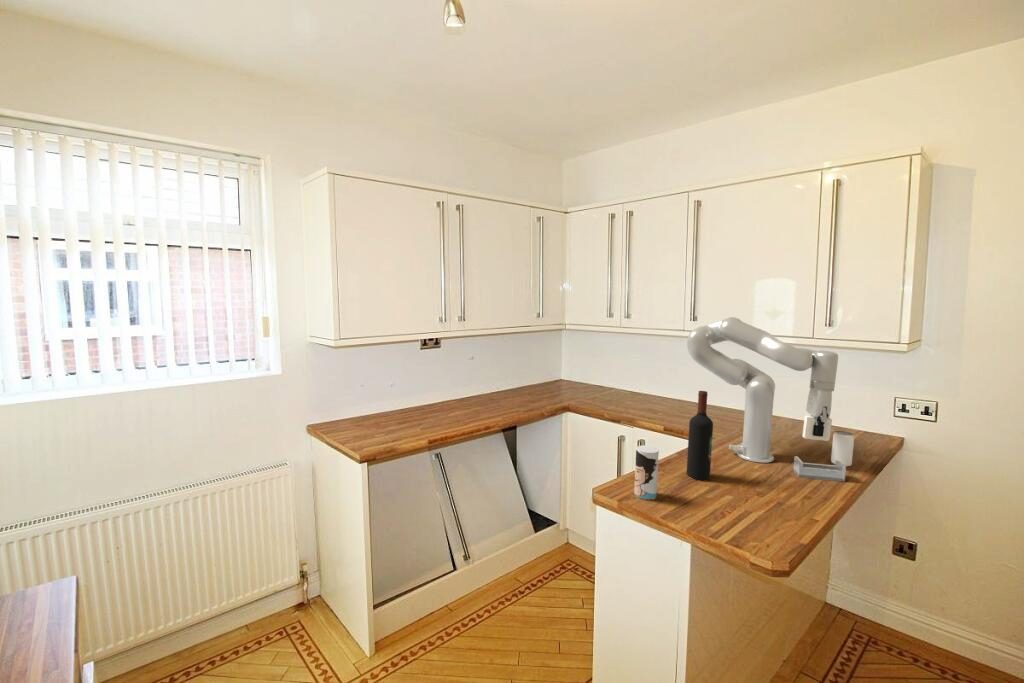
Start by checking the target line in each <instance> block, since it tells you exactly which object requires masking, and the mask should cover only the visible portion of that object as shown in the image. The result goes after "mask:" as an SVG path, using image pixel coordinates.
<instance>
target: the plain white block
mask: <svg viewBox="0 0 1024 683" xmlns="http://www.w3.org/2000/svg"><path fill="white" fill-rule="evenodd" d="M803 419H804V420H803V428H802V438H804V440H805V439H807V440H817V441H827V442H830V438H831V430H832V423H833V419H832V418H830V417H829V418H827V422H825V426H824V432H823V436H822V437H821V436H813V427H814V425H815V419H816V417H813V416H811V415H804V418H803ZM818 420H819V419H818Z"/></svg>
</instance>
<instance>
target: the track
mask: <svg viewBox="0 0 1024 683" xmlns="http://www.w3.org/2000/svg"><path fill="white" fill-rule="evenodd" d="M846 470H847V467H846V466H845V465H844V464H843V463H841V462H840V461H839V460H836V461H835V464H833V465H832V464H831V465H830V464H822V463H810V462H803V461H802V459H801V458H800V457H799V456H797V455H796V456H793V470H792V472H794V474H795V473H796V474H795V475H796V476H797V477H798V478H801V477H803V479H812V480H823V481H832V482H841V481H843V482H842V483H845V480H846V473H847V472H846Z"/></svg>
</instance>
